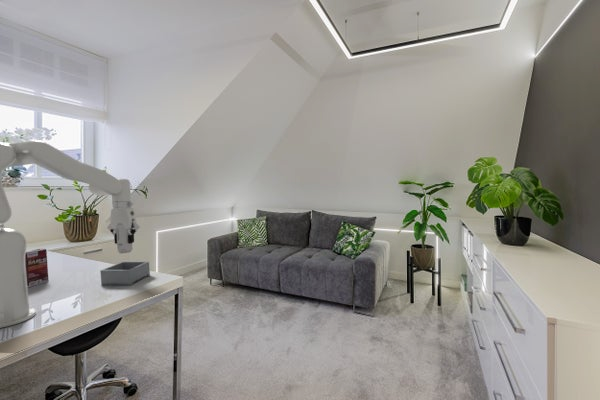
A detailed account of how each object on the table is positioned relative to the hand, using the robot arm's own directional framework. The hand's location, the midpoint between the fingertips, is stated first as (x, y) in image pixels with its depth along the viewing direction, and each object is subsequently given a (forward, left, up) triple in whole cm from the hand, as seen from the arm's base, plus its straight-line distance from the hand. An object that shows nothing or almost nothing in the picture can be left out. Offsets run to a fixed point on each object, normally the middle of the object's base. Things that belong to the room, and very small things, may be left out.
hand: (124, 242), depth 131 cm
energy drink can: (0, 0, -5) cm, 5 cm away
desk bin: (0, 0, -18) cm, 18 cm away
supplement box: (-6, +41, -18) cm, 45 cm away
